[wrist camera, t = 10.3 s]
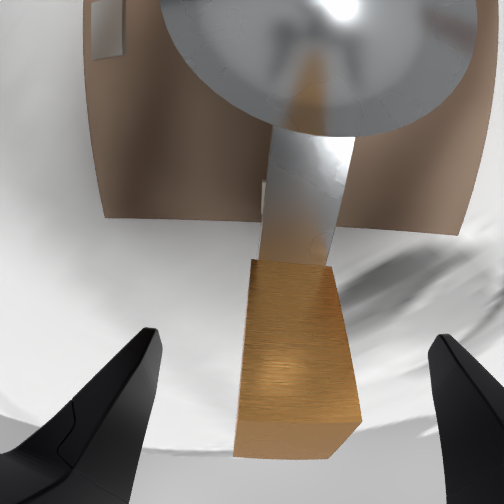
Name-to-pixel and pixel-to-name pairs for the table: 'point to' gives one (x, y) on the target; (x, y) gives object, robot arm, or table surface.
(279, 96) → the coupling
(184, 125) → the base plate
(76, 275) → the table surface
